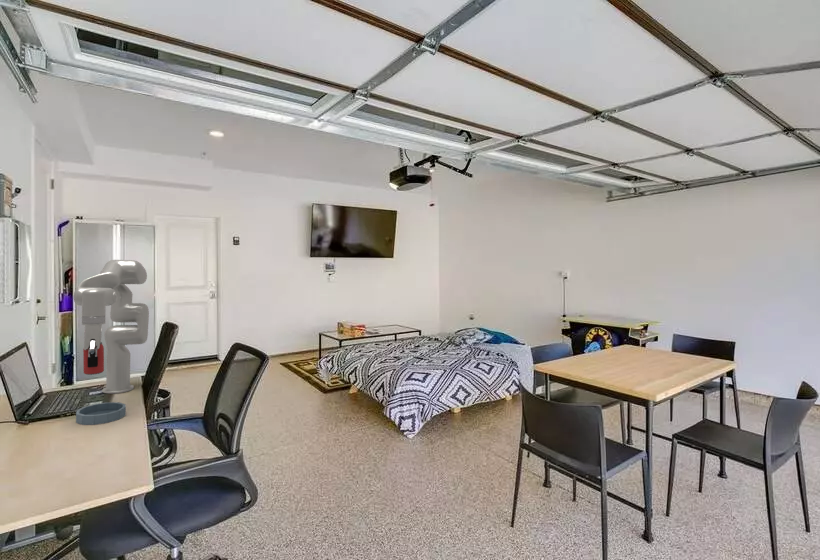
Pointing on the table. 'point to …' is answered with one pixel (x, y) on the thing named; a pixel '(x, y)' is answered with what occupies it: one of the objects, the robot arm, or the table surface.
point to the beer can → (100, 361)
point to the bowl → (100, 413)
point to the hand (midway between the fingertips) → (93, 364)
